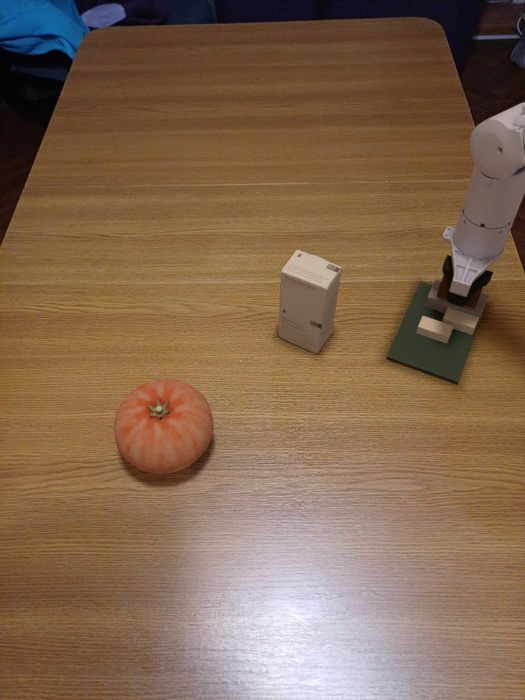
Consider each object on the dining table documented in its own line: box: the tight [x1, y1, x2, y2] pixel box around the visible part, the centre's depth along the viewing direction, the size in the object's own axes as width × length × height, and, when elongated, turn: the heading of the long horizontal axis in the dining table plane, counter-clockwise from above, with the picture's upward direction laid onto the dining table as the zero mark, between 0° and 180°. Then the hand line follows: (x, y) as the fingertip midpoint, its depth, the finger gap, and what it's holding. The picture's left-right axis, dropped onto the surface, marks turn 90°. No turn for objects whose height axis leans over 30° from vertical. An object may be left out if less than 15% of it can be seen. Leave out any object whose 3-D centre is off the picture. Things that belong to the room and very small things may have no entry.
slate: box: [385, 280, 487, 385], centre depth 79 cm, size 9×14×1 cm, turn 154°
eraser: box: [425, 274, 489, 324], centre depth 79 cm, size 7×4×4 cm, turn 64°
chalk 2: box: [442, 307, 479, 335], centre depth 78 cm, size 4×2×1 cm, turn 64°
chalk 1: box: [416, 316, 453, 344], centre depth 77 cm, size 4×2×1 cm, turn 64°
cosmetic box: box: [277, 248, 343, 354], centre depth 74 cm, size 6×4×12 cm
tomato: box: [113, 378, 214, 474], centre depth 67 cm, size 11×11×8 cm
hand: (459, 294), depth 79 cm, fingers closed on eraser, 2 cm apart
